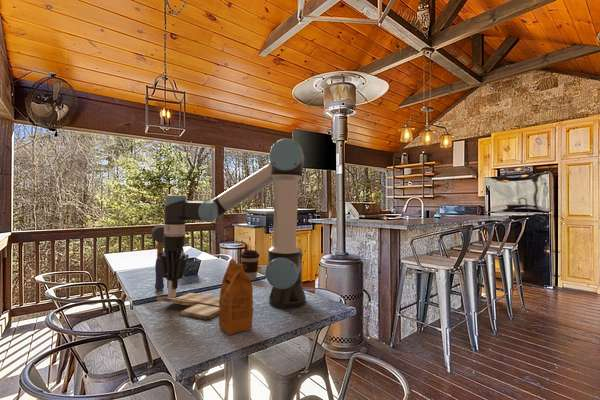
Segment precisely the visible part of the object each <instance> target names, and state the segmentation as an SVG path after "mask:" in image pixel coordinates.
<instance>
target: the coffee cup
mask: <svg viewBox="0 0 600 400" xmlns="http://www.w3.org/2000/svg"><path fill="white" fill-rule="evenodd" d="M240 258H241V264H244V265H246V267H247V268H246V269H244V271H245V273H246V275H247V277H248V278H249V280H250V281H255V280H257V278H258V277H257V275H258V269H259V267H258V266H259V258H260V253H258V252H257V250H252V249H249V250H248V249H247V250H243V252H242V253H240Z"/></svg>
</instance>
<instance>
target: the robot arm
mask: <svg viewBox="0 0 600 400" xmlns="http://www.w3.org/2000/svg"><path fill="white" fill-rule="evenodd" d="M305 160H306V157H305V153H304V151H303V148H302V146H301V145H300V144H299V142H297V141H296V140H293V139H291V138H281V139H279V140H277V141H276V142H274V143H273V144H272V145H271V147H270V150H269V160H268V162H267V165H265V166H263V167H262V168H259V169H258V170H257V171H255V172H254V173H252V174H251V175H249V176H248V177H246V178H244V179H243V180H241V181H239V182H237V183H236V184H235V185H232V187H230V188H228V189H227V190H226V191H224V192H222V193H220V194H219V195H218V196H216V197H214V198H213V199H211V200H187V197H186V195H184V194H183V195H181V194H178V195H177V194H167V195H166V197H165V200H164V206H163V207H164V223H163V226H164V234H165V235H166V236H164V241H163V252H160V253H159V256H160V258H161V265H162V272H163V279H166V280H167V282H166V284H167V285H166V287H167V298H177V289H178V286H179V285H178V284H179V281H180V279H183V278H184V273H185V268H186V266H187V265H186V264H187V260H188V259H189V256H190V255H189V254H186V253H185V252H184V250H185V249H184V246H185V239H186V237H185V234H186V221H194V222H195V221H199V222H213V221H215V220H217V219H219V218H221V217H223V216H224V214H225V213H228V211H230V210H232V209H233V208H235V207H236V206H238V205H239V204H241V203H242V202H244V201H246V200H247V199H249V198H251V197H252V196H254V195H256V194H258V193H259V192H261V191H262V190H264V189H265V188H267V187H269V186H270V185H272V184H273V183H274V198H273V199H274V200H273V201H274V202H273V203H274V204H273V205H274V206H273V227H272V228H273V229H272V230H273V231H272V232H273V234H272V246H270V248H268V256H267V257H268V259H267V265H266V266H265V267H266V268H265V278H266V281H267V282H268V283H269V284H270V285H271V286H272V289H271V291H270V295H269V297H268V298H269V299H268V300H269V301H268V303H269V305H270V306H272V307H274V308H279V309H287V310H288V309H297V308H301V307H303V306H305V305H306V301H307V297H306V294H305V290H304V287H303V283H302V280H303V249H302V248H301V247H298V246H297V226H298V225H297V224H298V223H297V222H298V220H297V219H298V195H299V193H298V191H299V181H300V180H301V179H302V178H303V168H304V165H305Z"/></svg>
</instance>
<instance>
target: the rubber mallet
mask: <svg viewBox="0 0 600 400" xmlns="http://www.w3.org/2000/svg"><path fill="white" fill-rule="evenodd" d="M150 234H151V237H152V239H153V240H154V241H155V242H157V243H156V245H157V246H156V248H157V249H156V258H155V259H156V260H155V284H154V289H155V290H156V291H157V290H160V291H163V290H164V289H165V283H164V277H163V272H162V265H161V258H160V256H159V253H160V252H163V251H164V245H163V241H164V236H166V235H165V234H164V225H160V224H159V225H155V226H154V227H153V228H152V229H151V233H150Z"/></svg>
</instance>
